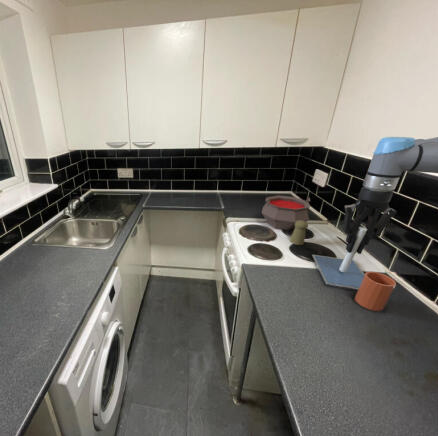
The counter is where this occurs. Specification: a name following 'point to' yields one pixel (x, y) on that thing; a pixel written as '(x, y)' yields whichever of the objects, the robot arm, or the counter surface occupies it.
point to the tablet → (338, 273)
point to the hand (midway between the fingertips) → (353, 251)
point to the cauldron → (285, 211)
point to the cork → (299, 232)
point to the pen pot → (374, 291)
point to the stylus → (349, 256)
